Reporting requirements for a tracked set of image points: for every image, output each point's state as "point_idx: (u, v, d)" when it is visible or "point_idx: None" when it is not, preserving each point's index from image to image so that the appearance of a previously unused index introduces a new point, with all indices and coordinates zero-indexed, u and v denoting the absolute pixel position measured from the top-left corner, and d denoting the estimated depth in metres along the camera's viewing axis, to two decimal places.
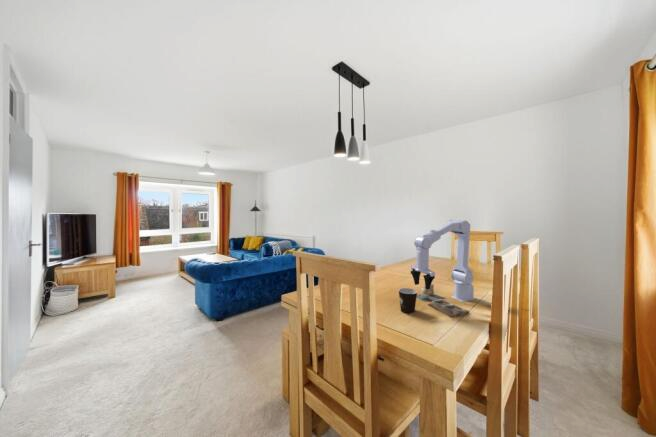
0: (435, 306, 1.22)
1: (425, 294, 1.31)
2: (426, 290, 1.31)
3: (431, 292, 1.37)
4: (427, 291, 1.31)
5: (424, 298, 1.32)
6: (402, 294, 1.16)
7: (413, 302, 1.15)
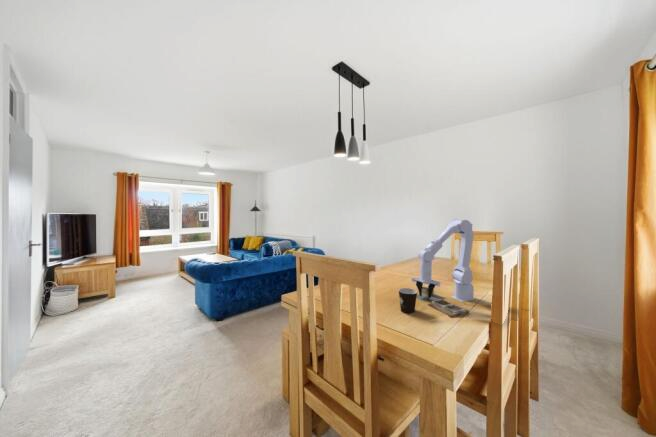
0: (435, 306, 1.22)
1: (425, 294, 1.31)
2: (426, 290, 1.31)
3: None
4: (427, 291, 1.31)
5: (424, 298, 1.32)
6: (402, 294, 1.16)
7: (413, 302, 1.15)
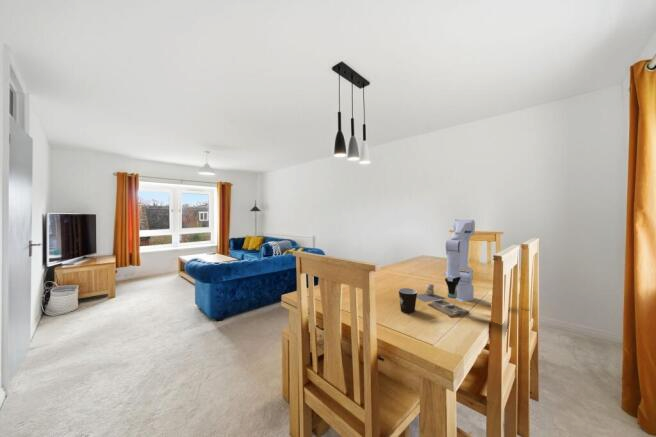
0: (435, 306, 1.22)
1: None
2: None
3: (431, 292, 1.37)
4: None
5: None
6: (402, 294, 1.16)
7: (413, 302, 1.15)
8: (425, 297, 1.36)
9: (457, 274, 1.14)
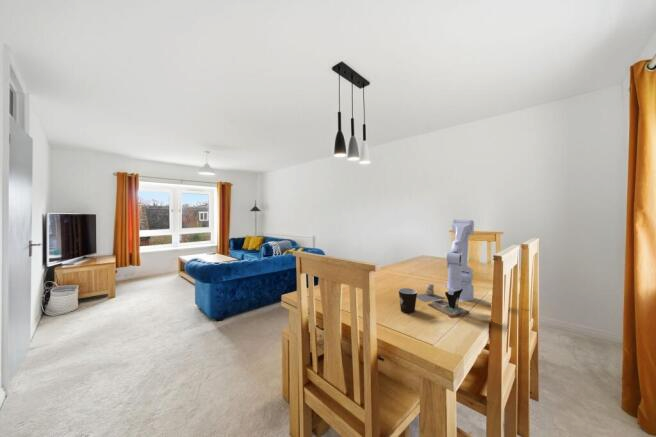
0: (435, 306, 1.22)
1: None
2: None
3: (431, 292, 1.37)
4: None
5: None
6: (402, 294, 1.16)
7: (413, 302, 1.15)
8: (425, 297, 1.36)
9: (458, 287, 1.14)
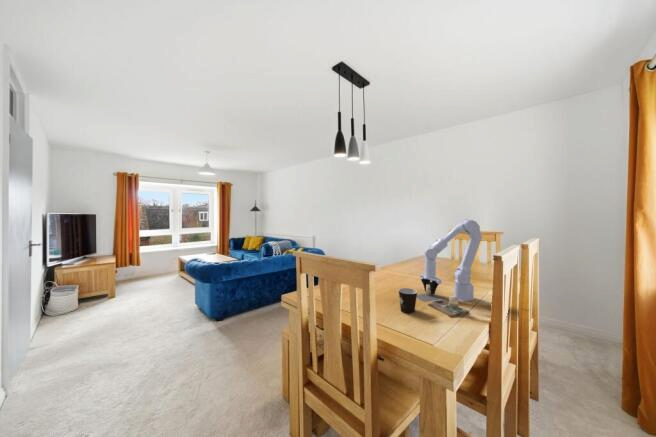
0: (435, 306, 1.22)
1: (449, 303, 1.18)
2: (449, 298, 1.18)
3: None
4: (450, 300, 1.17)
5: None
6: (402, 294, 1.16)
7: (413, 302, 1.15)
8: (425, 297, 1.36)
9: (435, 276, 1.38)
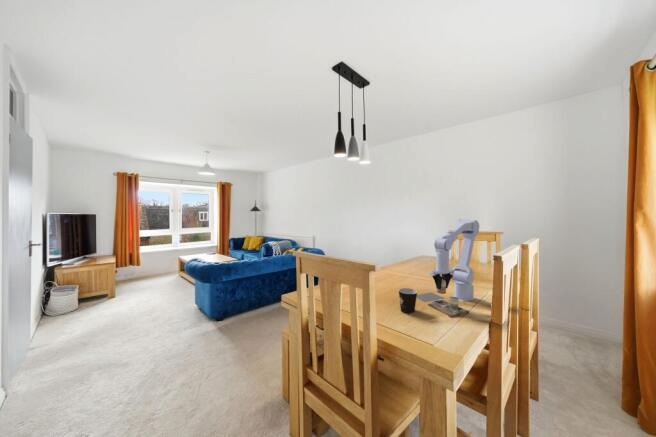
0: (435, 306, 1.22)
1: (449, 303, 1.18)
2: (449, 298, 1.18)
3: None
4: (450, 300, 1.17)
5: None
6: (402, 294, 1.16)
7: (413, 302, 1.15)
8: (425, 297, 1.36)
9: (443, 270, 1.21)
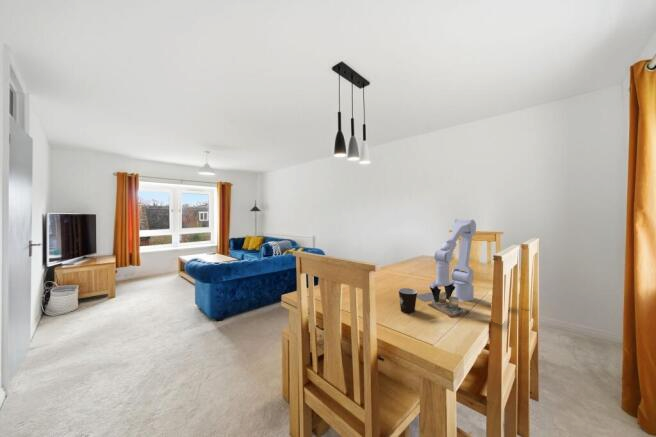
0: (435, 306, 1.22)
1: (449, 303, 1.18)
2: (449, 298, 1.18)
3: None
4: (450, 300, 1.17)
5: None
6: (402, 294, 1.16)
7: (413, 302, 1.15)
8: (425, 297, 1.36)
9: (443, 283, 1.21)
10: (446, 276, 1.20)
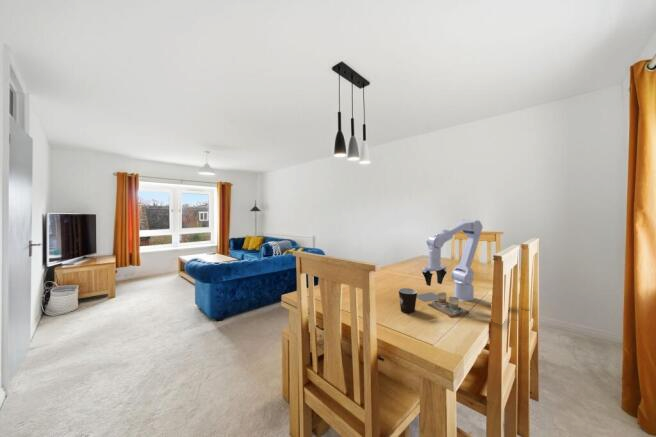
0: (435, 306, 1.22)
1: (449, 303, 1.18)
2: (449, 298, 1.18)
3: (438, 300, 1.24)
4: (450, 300, 1.17)
5: None
6: (402, 294, 1.16)
7: (413, 302, 1.15)
8: (425, 297, 1.36)
9: (434, 267, 1.25)
10: (438, 261, 1.25)
